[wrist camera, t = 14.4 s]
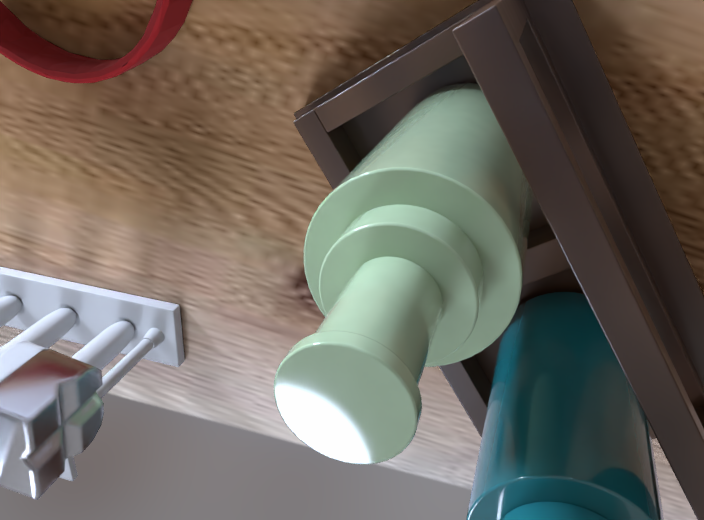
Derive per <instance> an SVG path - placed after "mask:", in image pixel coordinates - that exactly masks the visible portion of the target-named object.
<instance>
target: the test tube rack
mask: <svg viewBox="0 0 704 520" xmlns="http://www.w3.org/2000/svg"><path fill="white" fill-rule="evenodd" d="M3 325H5V326H9V327H13V328H17V329H21V330H25V331H24V332H22V333H21V334H19V335H18V336H17V337H15V338H14V339H12V340H11V341H10V342H8V343H7V344H5V345H4V346H3V347H1V348H0V354H1V353H3V352H4V351H6V350H7V349H8V348H10V347H11V346H13V345H14V344H16V343H18V342H23V341H28V342H31V343H34V344H36V345H39V346H42V347H44V348H47V349H48V348H49V347H50V346H52V345H53V344H54V343H56V342H57V341H58V340H59V339H63V340H67V341H71V342H76V343H80V344H84V345H85V346H84V347H83V348H82V349H81V350H79V351H78V352H77V353H76V354H75V355H73V356H72V357H71V358H74V359H76V360H79V361H82V362H84V363H87V364H89V365H92V366H95V367H96V368H98V369H100V370H102V369H103V368H104V367H105V366H106V365H107V364H108V363H110V362H111V361H112V360H113V359H114V358H115V357H116V356H117V355H118V354H119V353H122V354H126V356H125V357H124V358H123V359H122V360H121V361H120V362H119V363H118V364H117V365H115V366H114V367H113V368H112V369H111V370H110V371H109V372H108V373H107V374H106V375H105V376H104V377H103V378H102V382H103V385H102V386H101V387H100V388H99V389H98V390H97V391H96V392H97V394H98V395H99V397H100V399H101V398H102V397H103V396H104V395H105V394H106V393H107V392H108V391H109V390H110V389H111V388H112V387H113V386H115V385H116V384H117V383H118V382H119V381H120V380H121V379H122V378H123V377H124V376H125V375H126V374H127V373H128V372H129V371H130V370H131V369H132V368H133V367H134V366H135V365H136V364H137V363H138V362H139V361H140V360H141V359H147V360H151V361H155V362H159V363H163V364H167V365H172V366H176V367H179V366H180V365H181V364H182V363H183V362H184V360H185V359H184V348H183V337H182V325H181V314H180V305H178V304H173V303H169V302H164V301H159V300H154V299H150V298H145V297H140V296H136V295H131V294H126V293H121V292H117V291H112V290H107V289H103V288H98V287H93V286H89V285H84V284H79V283H75V282H70V281H65V280H60V279H56V278H51V277H46V276H42V275H37V274H32V273H28V272H23V271H18V270H14V269H9V268H4V267H0V327H2V326H3ZM77 476H78V475H77V471H76V466H75V461H74V456H72V457H70V458H67V459H66V460H65V471H64V472H63V473H62V475H61V476H60V478H63V479H67V480H70V481H74V479H75V478H76V477H77Z"/></svg>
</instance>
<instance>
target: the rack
mask: <svg viewBox="0 0 704 520" xmlns="http://www.w3.org/2000/svg"><path fill="white" fill-rule="evenodd" d="M459 83H474V84H479V86H480V88H481V90H482V92H483V94H484V96H485V98H486V100H487V102H488V104H489V106H490V108H491V110H492V112H493V114H494V116H495V118H496V120H497V122H498V124H499V126H500V128H501V130H502V132H503V134H504V136H505V138H506V140H507V142H508V144H509V146H510V148H511V150H512V152H513V154H514V156H515V158H516V160H517V162H518V164H519V166H520V168H521V170H522V172H523V174H524V176H525V178H526V180H527V182H528V184H529V185H530V187H531V189H532V191H533V193H534V199H533V207H532V215H531V222H530V230H529V238H528V246H527V254H526V261H525V269H524V277H523V285H522V291H521V296H520V301H519V304H518V307H519V306H520V305H522V304H523V303H525V302H526V301H528V300H530V299H532V298H535V297H537V296H540V295H543V294H547V293H553V292H576V293H582V294H584V295H585V297H586V299H587V301H588V303H589V305H590V307H591V309H592V311H593V313H594V315H595V317H596V319H597V321H598V323H599V325H600V327H601V329H602V330H603V332H604V334H605V336H606V338H607V340H608V342H609V344H610V346H611V348H612V350H613V352H614V354H615V356H616V358H617V360H618V362H619V364H620V366H621V368H622V370H623V372H624V374H625V376H626V378H627V380H628V382H629V384H630V386H631V388H632V390H633V392H634V394H635V396H636V398H637V400H638V402H639V404H640V406H641V408H642V410H643V412H644V414H645V416H646V418H647V420H648V422H649V426H650V433H651V439H655V438H657V440H658V442H659V444H660V446H661V448H662V450H663V452H664V454H665V456H666V458H667V460H668V462H669V464H670V466H671V468H672V470H673V472H674V473H675V475H676V477H677V479H678V481H679V483H680V485H681V487H682V489H683V491H684V493H685V495H686V497H687V499H688V501H689V503H690V505H691V507H692V509H693V511H694V513H695V515H696V517H697V519H698V520H704V296H703V294H702V292H701V289H700V287H699V285H698V283H697V280H696V278H695V276H694V274H693V271H692V269H691V267H690V265H689V262H688V260H687V258H686V256H685V253H684V251H683V249H682V247H681V244H680V242H679V240H678V238H677V235H676V233H675V231H674V229H673V226H672V224H671V222H670V220H669V217H668V215H667V213H666V211H665V208H664V206H663V204H662V202H661V199H660V197H659V195H658V193H657V190H656V188H655V186H654V184H653V181H652V179H651V177H650V175H649V172H648V170H647V168H646V166H645V163H644V161H643V159H642V157H641V154H640V152H639V150H638V148H637V145H636V143H635V141H634V139H633V136H632V134H631V132H630V130H629V127H628V125H627V123H626V121H625V118H624V116H623V114H622V112H621V109H620V107H619V105H618V103H617V100H616V98H615V96H614V94H613V91H612V89H611V87H610V85H609V82H608V80H607V78H606V76H605V73H604V71H603V69H602V67H601V64H600V62H599V60H598V58H597V55H596V53H595V51H594V49H593V46H592V44H591V42H590V40H589V37H588V35H587V33H586V31H585V28H584V26H583V24H582V22H581V19H580V17H579V15H578V13H577V10H576V8H575V6H574V4H573V1H572V0H479V1H477V2H475V3H474V4H472V5H470V6H469V7H467V8H465V9H464V10H462V11H461V12H459V13H457V14H456V15H454V16H452V17H451V18H449V19H447V20H446V21H444V22H442V23H441V24H439V25H438V26H436V27H434V28H433V29H431V30H429V31H428V32H426V33H424V34H423V35H421V36H420V37H418V38H416V39H415V40H413V41H411V42H410V43H408V44H406V45H405V46H403V47H401V48H400V49H398V50H397V51H395V52H393V53H392V54H390V55H388V56H387V57H385V58H383V59H382V60H380V61H379V62H377V63H375V64H374V65H372V66H370V67H369V68H367V69H365V70H364V71H362V72H361V73H359V74H357V75H356V76H354V77H352V78H351V79H349V80H347V81H346V82H344V83H342V84H341V85H339V86H338V87H336V88H334V89H333V90H331V91H329V92H328V93H326V94H324V95H323V96H321V97H320V98H318V99H316V100H315V101H313V102H311V103H310V104H308V105H306V106H305V107H303V108H302V109H300V110H298V111H297V112H295V113H294V115H295V117H296V120H295V121H294V122H293V123H294V124H295V126H296V128H297V129H298V131H299V133H300V134H301V136H302V138H303V140H304V141H305V143H306V145H307V146H308V148H309V150H310V151H311V153H312V155H313V156H314V158H315V160H316V161H317V163H318V165H319V166H320V168H321V170H322V171H323V173H324V175H325V176H326V178H327V180H328V181H329V183H330V185H331V186H332V188H333V190H334V189H335V188H336V187H337V186H338V185H339V184H340V182H341V181H342V180H343V179H344V178H345V177H346V176H347V175H348V174H349V173H350V172H351V171H352V170H353V169H354V168H355V167H356V166H357V165H358V164H359V163H360V162H361V161H362V160H363V159H364V158H365V157H366V156H367V154H368V153H369V152H370V151H371V150H372V149H373V148H374V147H375V146H376V145H377V144H378V143H379V142H380V141H381V140H382V139H383V138H384V137H385V136H386V135H387V134H388V133H389V132H390V131H391V130H392V129H393V127H394V126H395V125H396V124H397V123H398V122H399V121H400V120H401V119H402V118H403V117H404V116H405V115H406V114H407V113H408V112H409V111H410V110H411V109H412V108H413V107H414V106H415V105H416V104H417V103H418V102H419V101H420V100H421V99H422V98H424V97H425V96H427V95H428V94H430V93H431V92H433V91H435V90H437V89H440V88H442V87H445V86H449V85H453V84H459ZM518 307H517V308H518ZM500 338H501V335H500V336H499V337H498V338H497V339H496V340H495V341H494V342H493V343H492V344H491V345H489V346H488V347H487V348H485V349H484V350H482V351H481V352H479V353H477V354H475V355H474V356H472V357H470V358H467V359H465V360H462V361H459V362H456V363H452V364H448V365H442V366H439V367H440V369H441V371H442V372H443V374H444V376H445V377H446V379H447V381H448V382H449V384H450V386H451V387H452V389H453V391H454V392H455V394H456V396H457V397H458V399H459V401H460V402H461V404H462V406H463V407H464V409H465V411H466V412H467V414H468V416H469V417H470V419H471V421H472V422H473V424H474V426H475V427H476V429H477V431H478V432H479V434H480V436H481V437H482V434H483V429H484V423H485V418H486V413H487V407H488V402H489V397H490V391H491V386H492V381H493V376H494V370H495V365H496V360H497V354H498V349H499V344H500Z"/></svg>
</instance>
